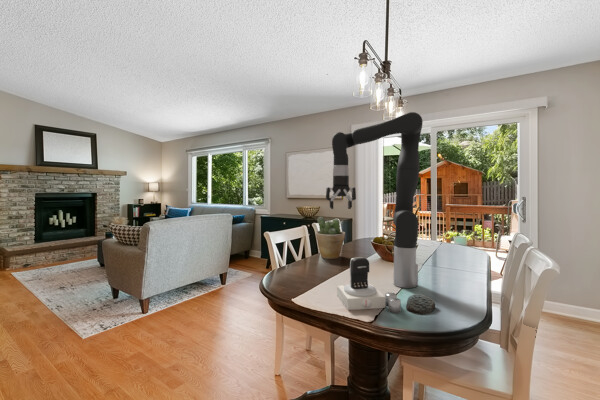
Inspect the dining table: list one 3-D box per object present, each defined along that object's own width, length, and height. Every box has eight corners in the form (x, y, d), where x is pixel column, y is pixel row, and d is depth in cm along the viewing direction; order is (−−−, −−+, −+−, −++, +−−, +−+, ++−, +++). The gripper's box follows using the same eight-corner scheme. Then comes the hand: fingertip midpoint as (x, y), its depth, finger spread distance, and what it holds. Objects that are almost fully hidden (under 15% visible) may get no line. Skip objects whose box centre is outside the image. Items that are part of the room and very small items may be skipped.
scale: (370, 293, 115) (370, 281, 115) (386, 308, 101) (386, 294, 100) (337, 295, 113) (337, 283, 113) (348, 310, 99) (348, 296, 99)
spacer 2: (397, 308, 101) (397, 297, 101) (402, 313, 97) (402, 301, 97) (386, 309, 100) (386, 298, 100) (391, 314, 96) (391, 302, 96)
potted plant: (344, 253, 187) (344, 216, 186) (345, 260, 168) (346, 219, 167) (316, 253, 188) (316, 216, 188) (315, 260, 170) (315, 218, 169)
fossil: (438, 306, 104) (438, 295, 103) (427, 318, 94) (427, 306, 94) (410, 299, 110) (410, 289, 110) (397, 309, 100) (397, 298, 100)
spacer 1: (393, 302, 106) (393, 292, 106) (398, 307, 102) (398, 296, 102) (383, 303, 105) (383, 292, 105) (387, 307, 101) (388, 296, 101)
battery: (353, 290, 105) (353, 259, 104) (349, 287, 108) (349, 257, 108) (370, 289, 106) (370, 258, 106) (366, 285, 110) (366, 256, 109)
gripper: (328, 174, 131) (328, 209, 131) (357, 174, 132) (357, 209, 133) (324, 175, 138) (324, 208, 139) (352, 175, 140) (352, 208, 140)
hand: (340, 208), depth 136 cm, fingers open, 8 cm apart
